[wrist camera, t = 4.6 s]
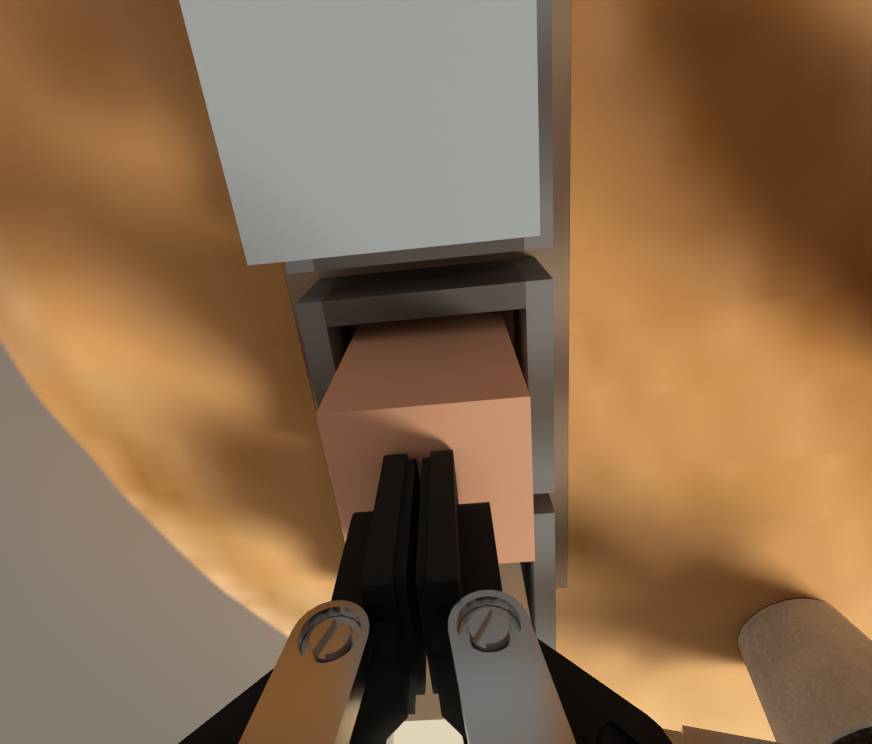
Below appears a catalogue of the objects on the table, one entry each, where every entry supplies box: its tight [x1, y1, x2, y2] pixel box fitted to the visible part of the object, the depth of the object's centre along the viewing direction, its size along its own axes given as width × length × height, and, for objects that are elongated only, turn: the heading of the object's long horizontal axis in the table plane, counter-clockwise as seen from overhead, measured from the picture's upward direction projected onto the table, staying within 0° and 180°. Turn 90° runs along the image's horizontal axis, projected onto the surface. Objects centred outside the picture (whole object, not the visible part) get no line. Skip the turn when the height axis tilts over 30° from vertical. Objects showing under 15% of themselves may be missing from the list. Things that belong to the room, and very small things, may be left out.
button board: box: [282, 0, 571, 651], centre depth 18 cm, size 25×10×4 cm, turn 6°
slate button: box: [179, 0, 540, 266], centre depth 10 cm, size 5×5×7 cm
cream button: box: [394, 562, 531, 744], centre depth 17 cm, size 5×5×7 cm
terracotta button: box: [316, 311, 535, 564], centre depth 15 cm, size 5×5×7 cm
